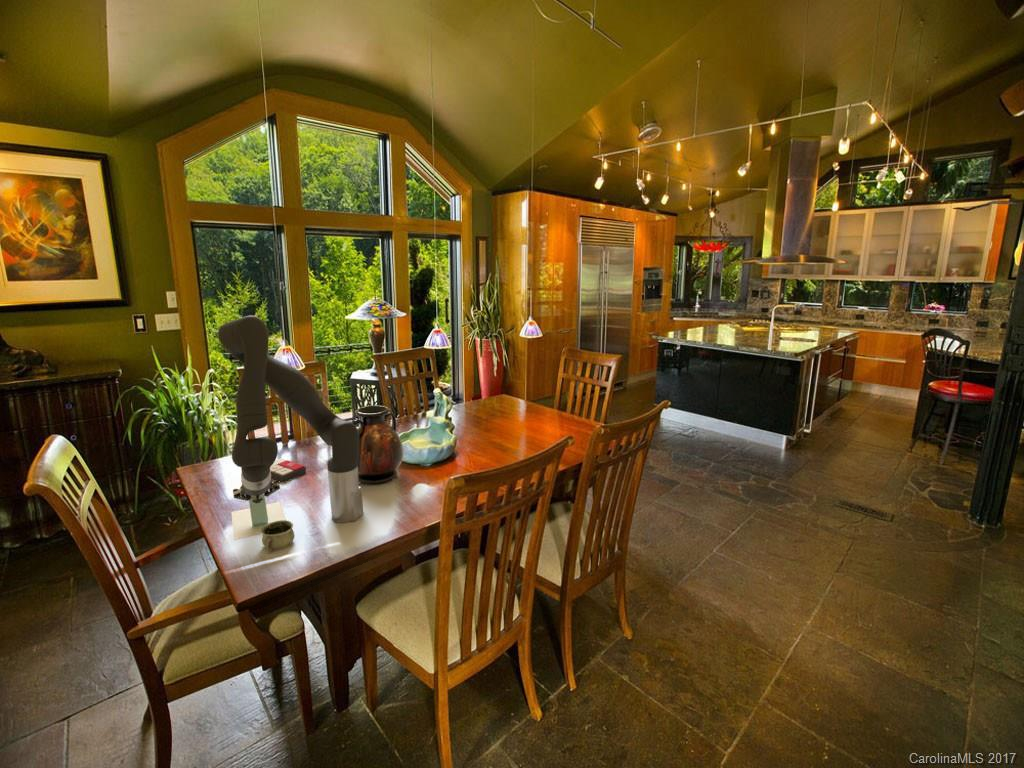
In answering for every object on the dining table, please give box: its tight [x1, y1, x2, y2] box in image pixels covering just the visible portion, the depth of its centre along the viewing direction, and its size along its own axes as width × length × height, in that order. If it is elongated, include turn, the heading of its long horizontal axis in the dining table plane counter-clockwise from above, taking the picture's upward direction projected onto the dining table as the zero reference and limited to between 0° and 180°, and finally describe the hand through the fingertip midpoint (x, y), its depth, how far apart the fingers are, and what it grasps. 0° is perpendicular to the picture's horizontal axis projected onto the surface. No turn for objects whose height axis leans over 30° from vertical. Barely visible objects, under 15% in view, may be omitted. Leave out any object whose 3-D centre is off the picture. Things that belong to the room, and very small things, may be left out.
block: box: [248, 496, 268, 526], centre depth 158 cm, size 4×4×14 cm
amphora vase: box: [351, 405, 405, 486], centre depth 192 cm, size 22×22×28 cm
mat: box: [230, 501, 287, 541], centre depth 161 cm, size 20×15×1 cm
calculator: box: [270, 458, 307, 483], centre depth 198 cm, size 11×4×15 cm
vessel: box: [260, 519, 296, 554], centre depth 146 cm, size 12×9×6 cm
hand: (257, 500), depth 154 cm, fingers closed
